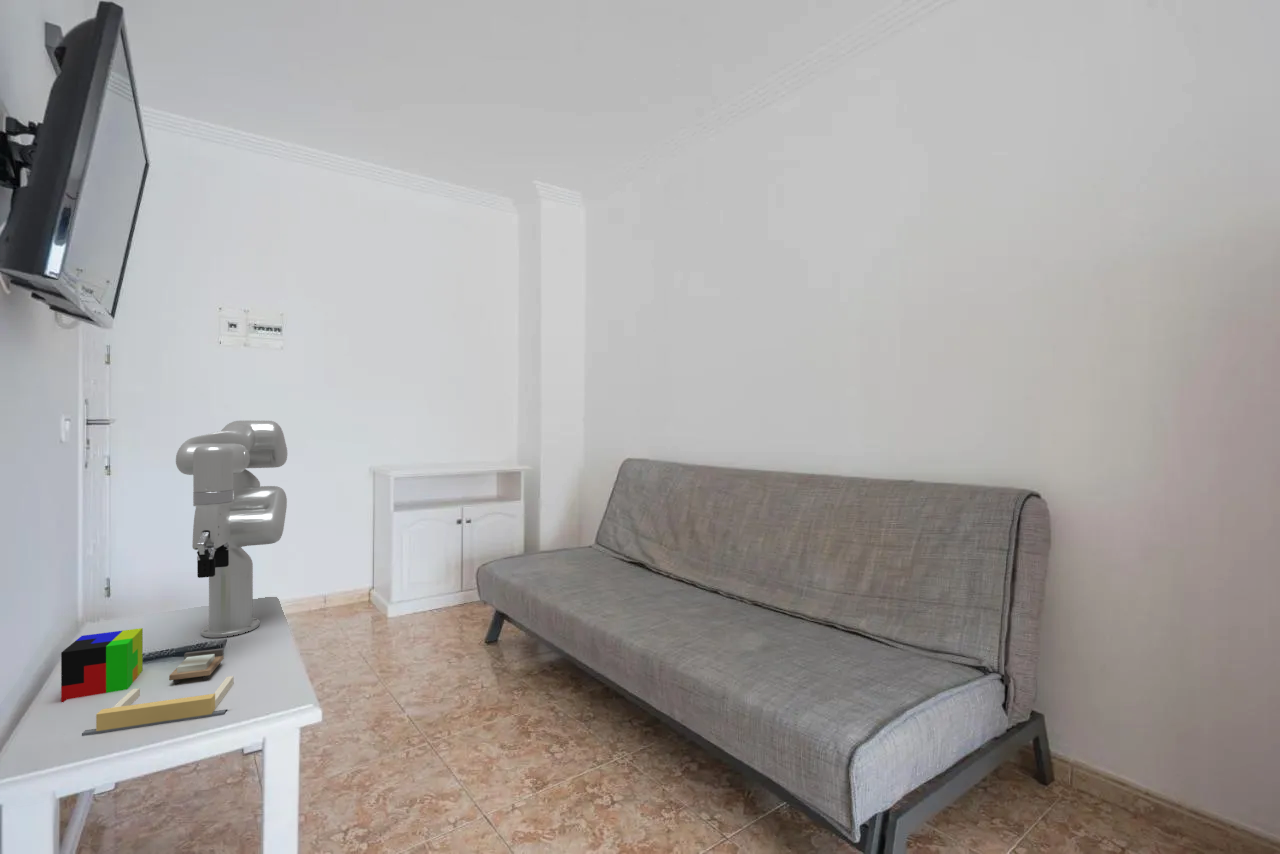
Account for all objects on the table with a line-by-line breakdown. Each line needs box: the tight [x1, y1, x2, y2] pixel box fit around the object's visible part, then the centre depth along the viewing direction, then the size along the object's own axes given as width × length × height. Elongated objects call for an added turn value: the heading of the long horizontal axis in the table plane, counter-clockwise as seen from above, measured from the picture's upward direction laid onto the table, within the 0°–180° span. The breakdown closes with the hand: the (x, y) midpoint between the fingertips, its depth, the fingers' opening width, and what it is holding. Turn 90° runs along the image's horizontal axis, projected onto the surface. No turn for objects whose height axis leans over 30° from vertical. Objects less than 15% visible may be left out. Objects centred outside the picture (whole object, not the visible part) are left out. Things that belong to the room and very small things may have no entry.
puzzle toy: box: [60, 627, 144, 703], centre depth 119 cm, size 10×10×10 cm
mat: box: [81, 675, 235, 737], centre depth 116 cm, size 26×21×3 cm
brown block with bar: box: [168, 647, 225, 685], centre depth 124 cm, size 9×7×4 cm
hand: (213, 571), depth 133 cm, fingers open, 9 cm apart
